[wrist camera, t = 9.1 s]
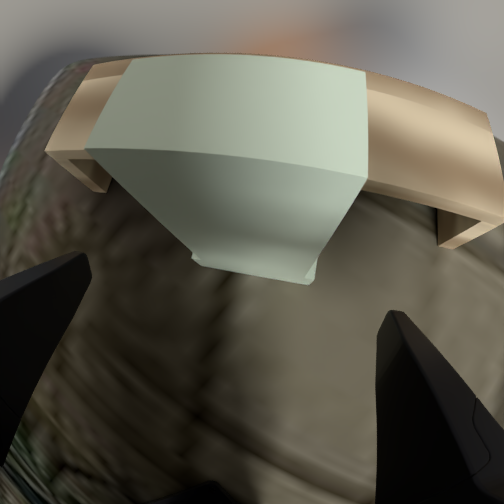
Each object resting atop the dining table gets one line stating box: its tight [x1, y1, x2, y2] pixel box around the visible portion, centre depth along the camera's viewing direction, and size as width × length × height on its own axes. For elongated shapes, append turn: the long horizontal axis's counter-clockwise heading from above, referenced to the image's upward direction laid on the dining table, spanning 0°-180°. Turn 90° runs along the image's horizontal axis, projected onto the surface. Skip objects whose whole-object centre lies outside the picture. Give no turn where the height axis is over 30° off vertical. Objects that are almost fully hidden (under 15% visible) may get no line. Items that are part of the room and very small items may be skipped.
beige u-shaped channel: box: [45, 53, 504, 249], centre depth 15 cm, size 7×24×6 cm, turn 79°
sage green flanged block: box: [84, 54, 368, 285], centre depth 11 cm, size 8×6×12 cm
